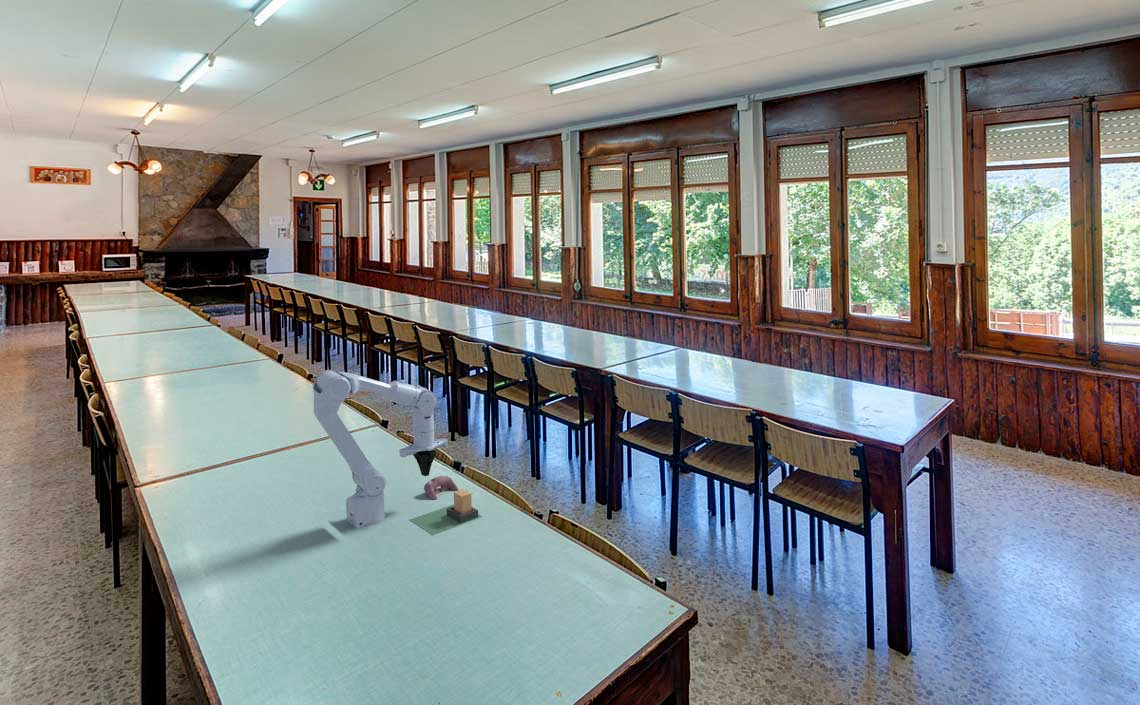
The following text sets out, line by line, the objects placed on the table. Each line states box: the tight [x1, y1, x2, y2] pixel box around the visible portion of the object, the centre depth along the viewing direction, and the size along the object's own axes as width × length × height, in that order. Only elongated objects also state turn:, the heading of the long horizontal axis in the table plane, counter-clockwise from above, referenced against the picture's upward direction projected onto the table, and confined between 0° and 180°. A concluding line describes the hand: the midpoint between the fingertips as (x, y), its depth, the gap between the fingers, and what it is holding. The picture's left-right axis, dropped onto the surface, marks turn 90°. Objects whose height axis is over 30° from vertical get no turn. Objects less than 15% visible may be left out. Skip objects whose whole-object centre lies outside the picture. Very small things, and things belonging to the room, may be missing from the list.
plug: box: [453, 488, 473, 515], centre depth 169 cm, size 3×4×7 cm
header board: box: [409, 503, 483, 536], centre depth 168 cm, size 16×12×3 cm
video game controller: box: [423, 475, 460, 501], centre depth 185 cm, size 10×5×7 cm, turn 141°
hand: (425, 475), depth 176 cm, fingers closed
